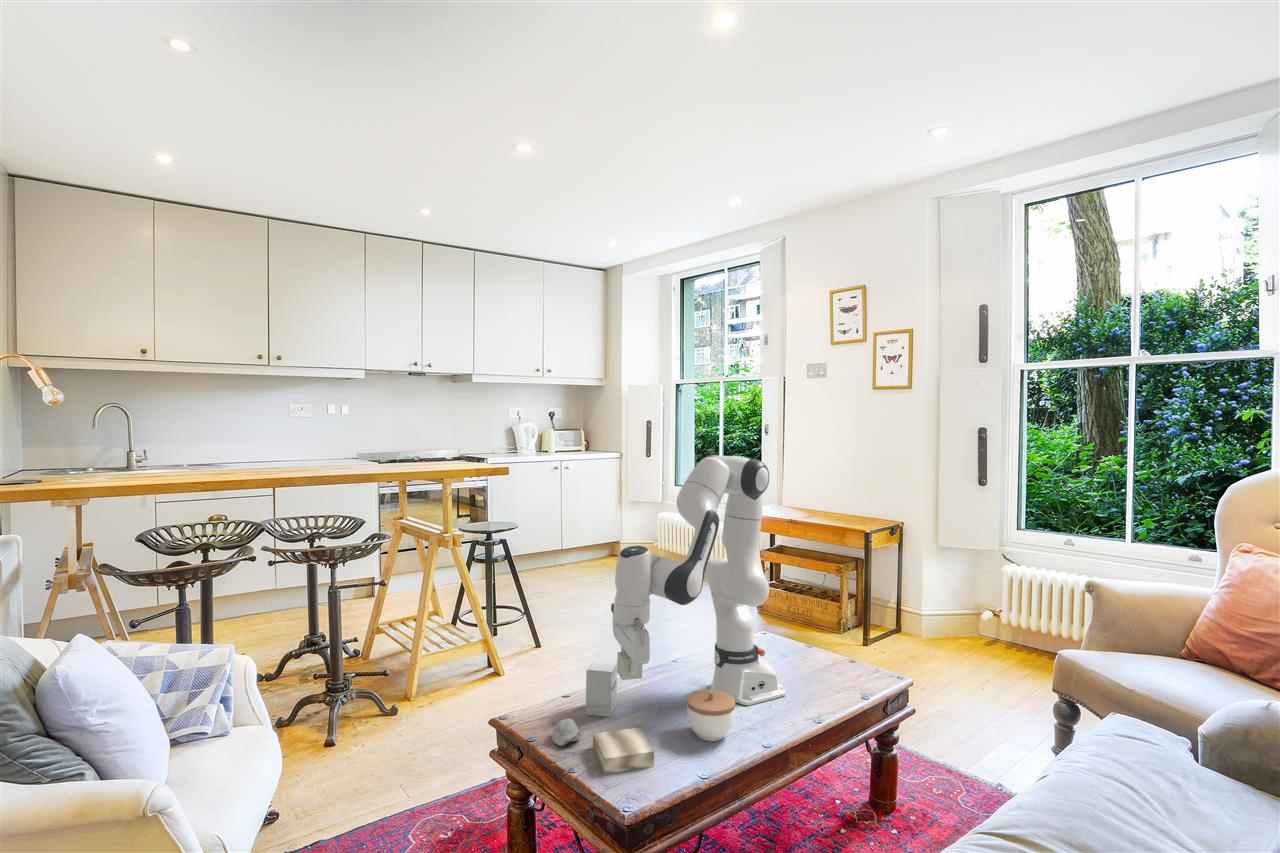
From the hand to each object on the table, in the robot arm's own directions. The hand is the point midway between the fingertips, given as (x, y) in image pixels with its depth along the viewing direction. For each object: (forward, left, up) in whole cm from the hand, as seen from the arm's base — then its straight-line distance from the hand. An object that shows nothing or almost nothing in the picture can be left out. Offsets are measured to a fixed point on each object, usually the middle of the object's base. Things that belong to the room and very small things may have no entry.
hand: (629, 668), depth 159 cm
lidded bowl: (-23, -1, -21) cm, 31 cm away
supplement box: (+1, -22, -21) cm, 30 cm away
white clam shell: (+14, -9, -21) cm, 27 cm away
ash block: (+2, +3, -21) cm, 21 cm away
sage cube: (0, 0, -2) cm, 2 cm away
